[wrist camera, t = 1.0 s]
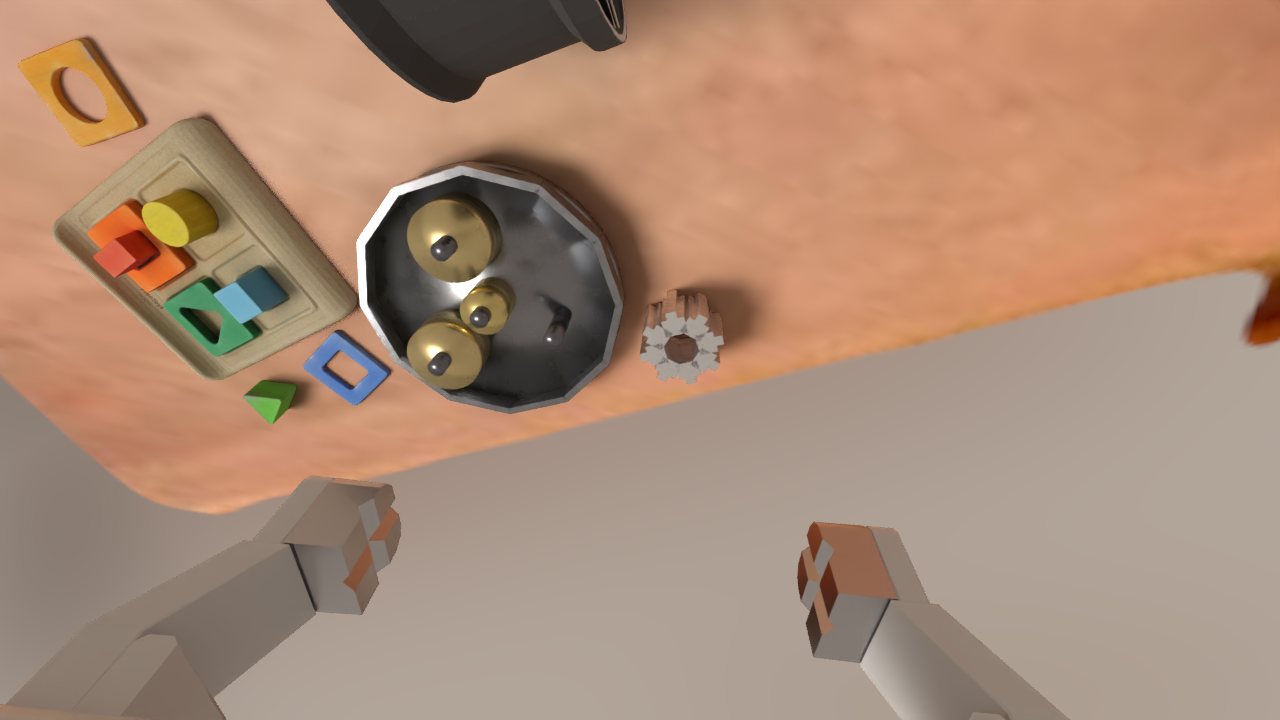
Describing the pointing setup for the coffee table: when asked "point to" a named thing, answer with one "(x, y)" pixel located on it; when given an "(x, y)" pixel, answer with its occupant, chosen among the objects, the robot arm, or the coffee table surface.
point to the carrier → (491, 286)
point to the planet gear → (684, 353)
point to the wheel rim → (475, 36)
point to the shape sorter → (199, 245)
